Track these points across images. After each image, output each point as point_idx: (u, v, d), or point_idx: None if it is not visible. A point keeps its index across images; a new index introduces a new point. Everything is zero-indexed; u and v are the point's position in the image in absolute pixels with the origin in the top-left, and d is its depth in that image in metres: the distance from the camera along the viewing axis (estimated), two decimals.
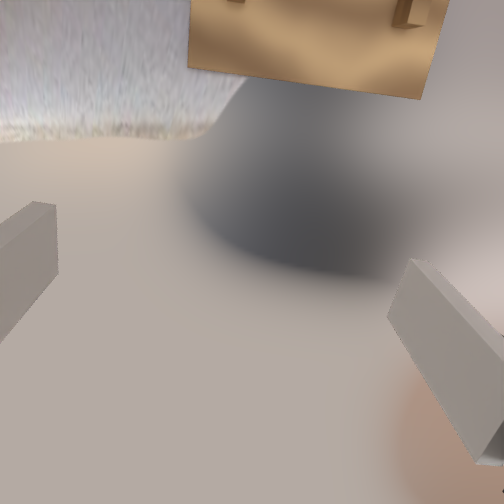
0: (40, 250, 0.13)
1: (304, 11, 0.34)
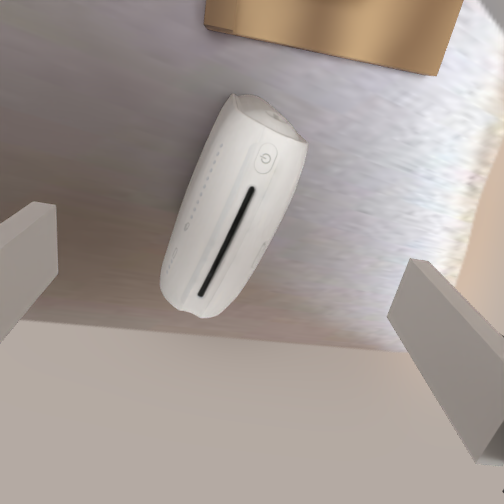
0: (40, 250, 0.13)
1: None
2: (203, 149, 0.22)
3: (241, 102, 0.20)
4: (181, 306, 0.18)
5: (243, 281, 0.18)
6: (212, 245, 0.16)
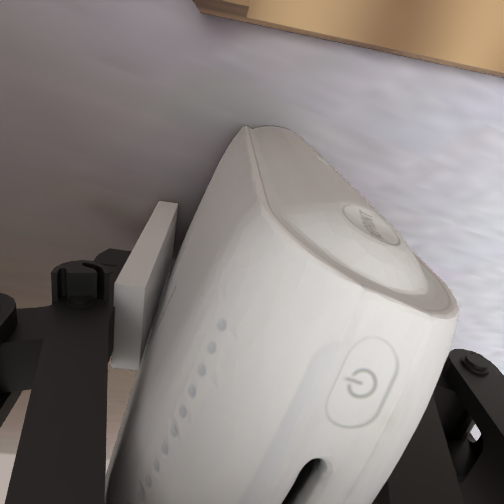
0: (170, 242, 0.15)
1: None
2: (190, 236, 0.12)
3: (265, 155, 0.10)
4: None
5: None
6: None
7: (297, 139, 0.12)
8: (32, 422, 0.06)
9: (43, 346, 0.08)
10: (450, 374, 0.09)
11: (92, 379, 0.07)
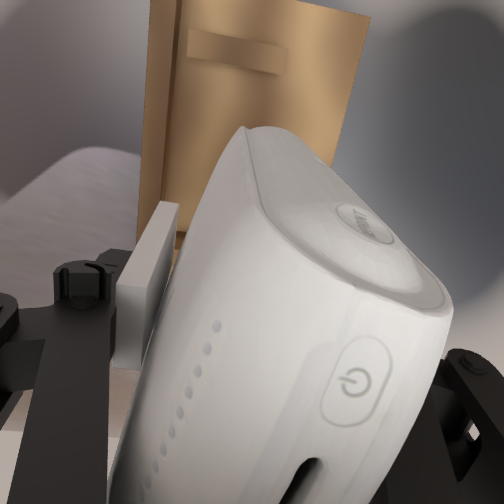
0: (172, 242, 0.15)
1: None
2: (188, 237, 0.12)
3: (261, 155, 0.10)
4: None
5: None
6: None
7: (294, 139, 0.13)
8: (34, 422, 0.06)
9: (45, 346, 0.08)
10: (448, 374, 0.09)
11: (93, 379, 0.07)
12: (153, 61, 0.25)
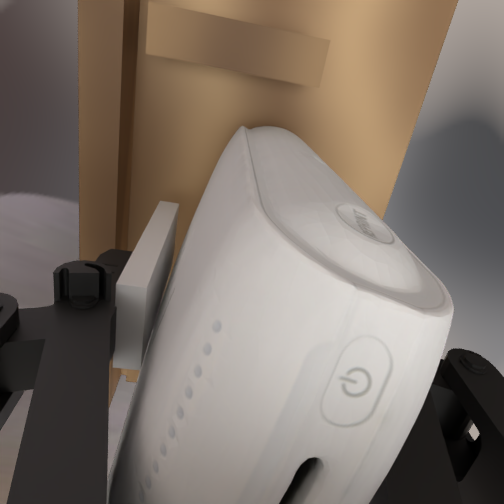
0: (172, 242, 0.15)
1: None
2: (188, 237, 0.12)
3: (261, 155, 0.10)
4: None
5: None
6: None
7: (294, 139, 0.13)
8: (34, 422, 0.06)
9: (45, 346, 0.08)
10: (448, 374, 0.09)
11: (94, 379, 0.07)
12: (89, 62, 0.14)
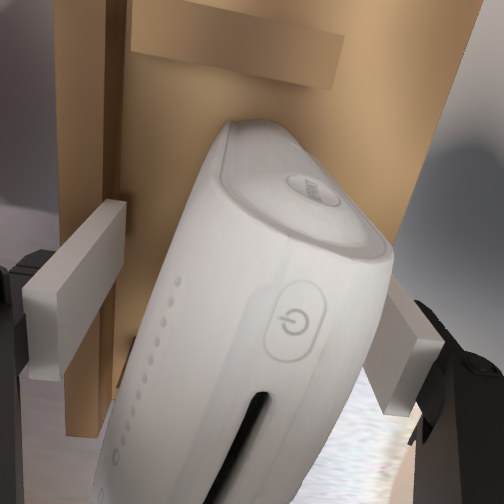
0: (116, 242, 0.14)
1: None
2: None
3: (238, 142, 0.11)
4: None
5: None
6: None
7: (275, 128, 0.13)
8: None
9: None
10: None
11: None
12: (68, 61, 0.12)
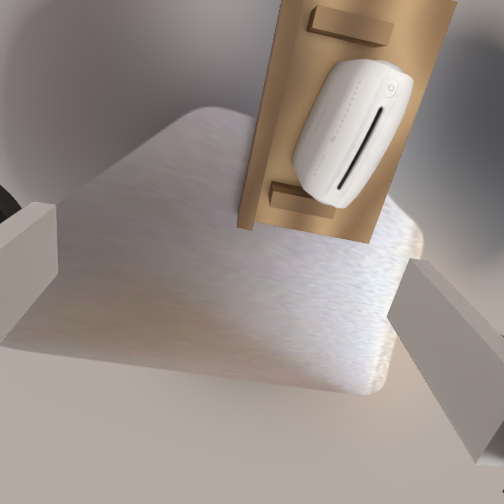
0: (40, 250, 0.13)
1: None
2: (323, 100, 0.31)
3: None
4: (324, 197, 0.27)
5: (367, 178, 0.26)
6: (353, 148, 0.25)
7: None
8: None
9: None
10: None
11: None
12: (282, 32, 0.31)
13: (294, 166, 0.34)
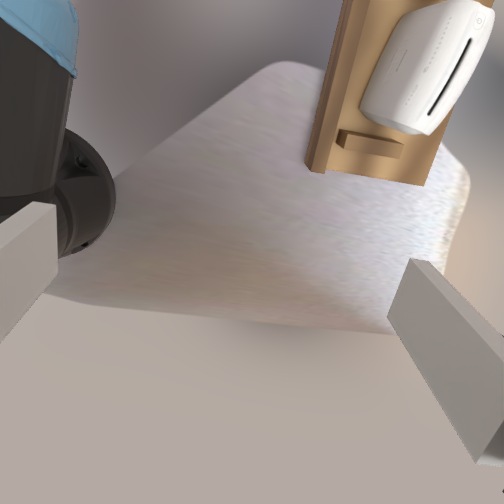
0: (40, 250, 0.13)
1: None
2: (399, 45, 0.35)
3: None
4: (415, 124, 0.31)
5: (452, 105, 0.30)
6: (446, 75, 0.29)
7: None
8: None
9: None
10: None
11: None
12: None
13: (368, 109, 0.38)
